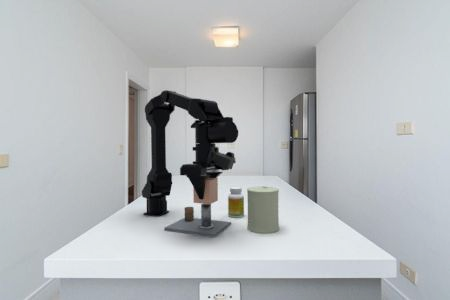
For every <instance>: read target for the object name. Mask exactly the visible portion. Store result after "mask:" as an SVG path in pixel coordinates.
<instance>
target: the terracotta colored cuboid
mask: <svg viewBox="0 0 450 300" xmlns="http://www.w3.org/2000/svg"><path fill="white" fill-rule="evenodd" d="M218 183H219V181H218V177H217V178H207V180H206V181H205V190H204V198H203V199H199V197H198V195H197V193H196V191H195V189H194V187H193V186H192V187H193V190H192V191H193V203H194V204H211V205H212V204H214V203H215V202H217V201H218V200H219V197H218V196H219V195H218V188H219V186H218Z"/></svg>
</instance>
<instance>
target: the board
mask: <svg viewBox="0 0 450 300" xmlns="http://www.w3.org/2000/svg"><path fill="white" fill-rule="evenodd" d="M200 224H201V218H198V217H197V218H196V217H194V221H191V222H186V221H185V217H183V218H181V219H179V220H177V221H175V222H173V223H171V224H168V225H167V226H165V227H163V229H164V231H167V232H172V233H182V234H188V235H195V236H204V237H211V238H216V237H217V236H219V234H221V233H222V232H223V231H225V230H227V228H229V227H230V226H232V221H226V220H225V221H224V220H217V219H211V224H213V225H214V227H213V228H211V229H200V228H199V225H200Z"/></svg>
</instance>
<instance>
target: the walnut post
mask: <svg viewBox="0 0 450 300" xmlns="http://www.w3.org/2000/svg"><path fill="white" fill-rule="evenodd" d="M184 218H185V221H186V222H191V221H194V218H195V215H194V207H193V206H185V207H184Z"/></svg>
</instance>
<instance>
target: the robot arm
mask: <svg viewBox="0 0 450 300" xmlns="http://www.w3.org/2000/svg"><path fill="white" fill-rule="evenodd" d="M175 107H177V108H179V109H182V110H184V111H186V112H187V113H188V115H189V116H191V117H192V118H193V119H195V120H194V122H193V123H192V124H191V125H190V129H194V131H195V134H194V135H195V136H194V137H195V138H194V139H195V142H194V143H195V146H192V151H193V152H194V151H195V161H192V163H186V164H184V163H183V164H182V165H181V166H180V167H179V175H180V176H185V177H186V178H188V180H189V181H190V183H191V185H192V187H194V189H195V191H196V193H197V195H198V197H199V199H203V198H204V190H205V181H206V180H207V178H218V177H219V176H221V174H223V171H228V170H232V169H233V168H234V167H233V166H234V164H236V159H237V158H236V157H235V153H234V152H232V151H227V152H226V153H223V152H220V151H219V150H220V149H219V147H218V146H216V144H233V143H235V142H236V141H237V139H238V136H239V130H238V127H237V125H236V123H235V122H234V118H233V117H231V116H230V117H229V116H224V115H223V113H222V112H221V110H220V108H219V106H218V103H217V102H216V101H214V100H209V99H204V98H195V97H191V96H190V97H189V96H187V95H184V94H181V93H178V92H177V91H173V90H167V89H166V90H162V91H161V93H160V94H158V95H157V96H154V97H152V98H151V99H150V100H149V101H147V103H146V104H145V107H144V113H145V120H146V122H147V123H148V125H149V127H150V147H151V148H150V150H151V154H150V155H151V168H150V171H149V172H148V174H147V175H146V183H145V184H144V186H143V188H142V190H141V196H142V198H144V199H146V212H143V215H146V216H154V217H160V216H163V215H164V214H167V213H169V212H170V211H169V210H168V200H167V196H168V197H169V196H170V195H171V192H172V191H171V190H172V186H173V173H172V172H170V171H169V170H168V169H167V159H166V158H167V157H166V156H167V155H166V154H167V153H166V152H167V151H166V148H167V146H166V144H167V143H166V127H167V126H168V123H169V122H170V120H171V115H172V113H173V112H174V111H175V109H176V108H175Z"/></svg>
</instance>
